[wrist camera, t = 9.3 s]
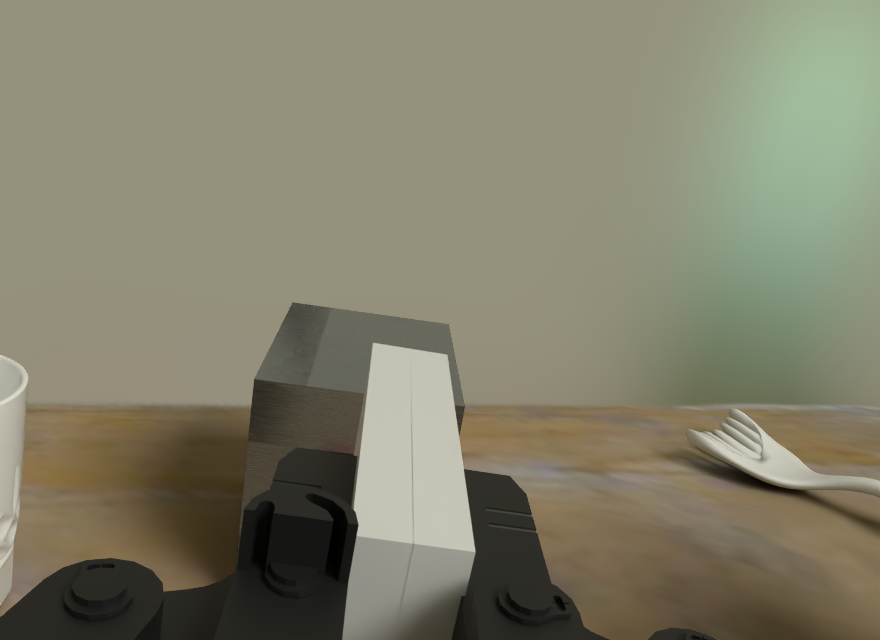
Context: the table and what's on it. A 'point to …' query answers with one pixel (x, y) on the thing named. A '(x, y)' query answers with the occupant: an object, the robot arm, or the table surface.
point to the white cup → (10, 461)
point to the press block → (324, 384)
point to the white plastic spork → (770, 458)
